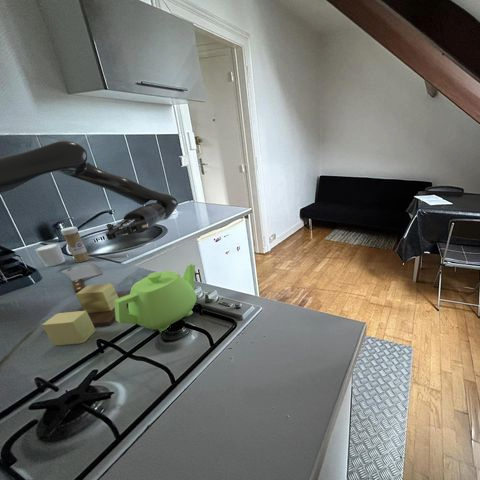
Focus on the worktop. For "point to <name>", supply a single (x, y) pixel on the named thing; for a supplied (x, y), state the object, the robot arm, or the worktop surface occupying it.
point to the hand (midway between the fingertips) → (109, 236)
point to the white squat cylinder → (50, 254)
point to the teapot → (158, 300)
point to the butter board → (99, 303)
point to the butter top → (69, 328)
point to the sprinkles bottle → (75, 244)
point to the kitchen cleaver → (81, 274)
